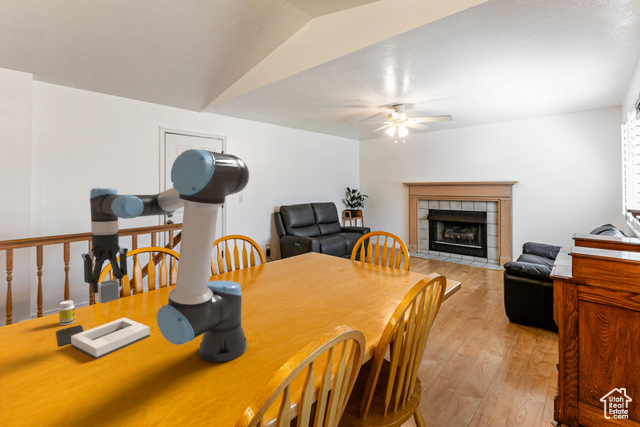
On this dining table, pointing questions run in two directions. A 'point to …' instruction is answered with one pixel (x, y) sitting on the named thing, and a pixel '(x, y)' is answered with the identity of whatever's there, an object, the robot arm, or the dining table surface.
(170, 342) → the robot arm
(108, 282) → the charger brick
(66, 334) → the smartphone
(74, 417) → the dining table surface
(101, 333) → the white slotted tray
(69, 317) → the supplement bottle
